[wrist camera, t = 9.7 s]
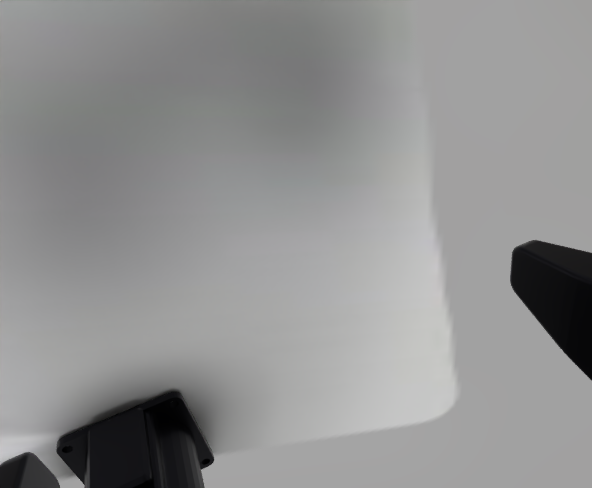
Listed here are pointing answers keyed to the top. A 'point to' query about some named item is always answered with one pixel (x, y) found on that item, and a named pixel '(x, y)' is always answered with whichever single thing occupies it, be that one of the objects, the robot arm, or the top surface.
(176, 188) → the top surface
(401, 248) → the top surface
